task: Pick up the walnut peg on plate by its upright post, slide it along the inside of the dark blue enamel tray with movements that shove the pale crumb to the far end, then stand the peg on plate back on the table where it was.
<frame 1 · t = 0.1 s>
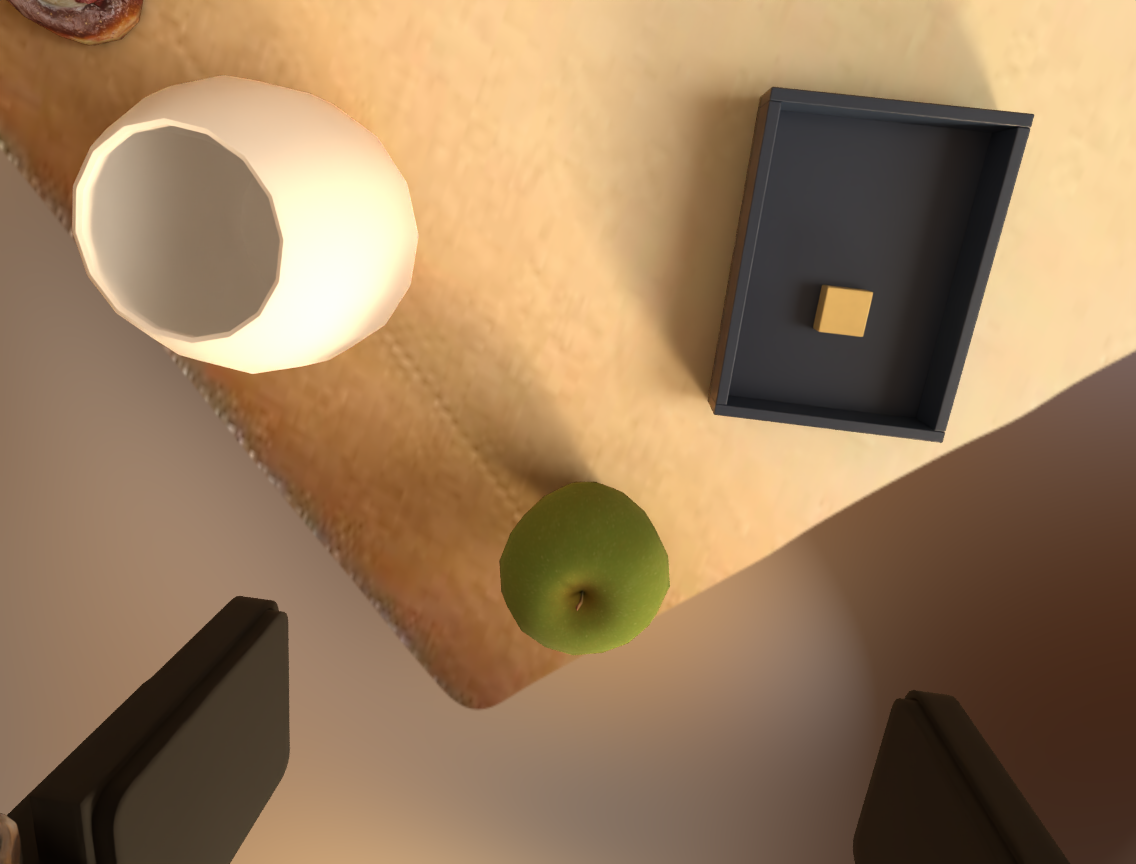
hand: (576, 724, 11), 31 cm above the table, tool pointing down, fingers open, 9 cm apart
cup: (324, 229, 40), on the table
apple: (590, 510, 44), on the table
crumb: (839, 309, 38), resting on tray
tray: (844, 271, 38), on the table
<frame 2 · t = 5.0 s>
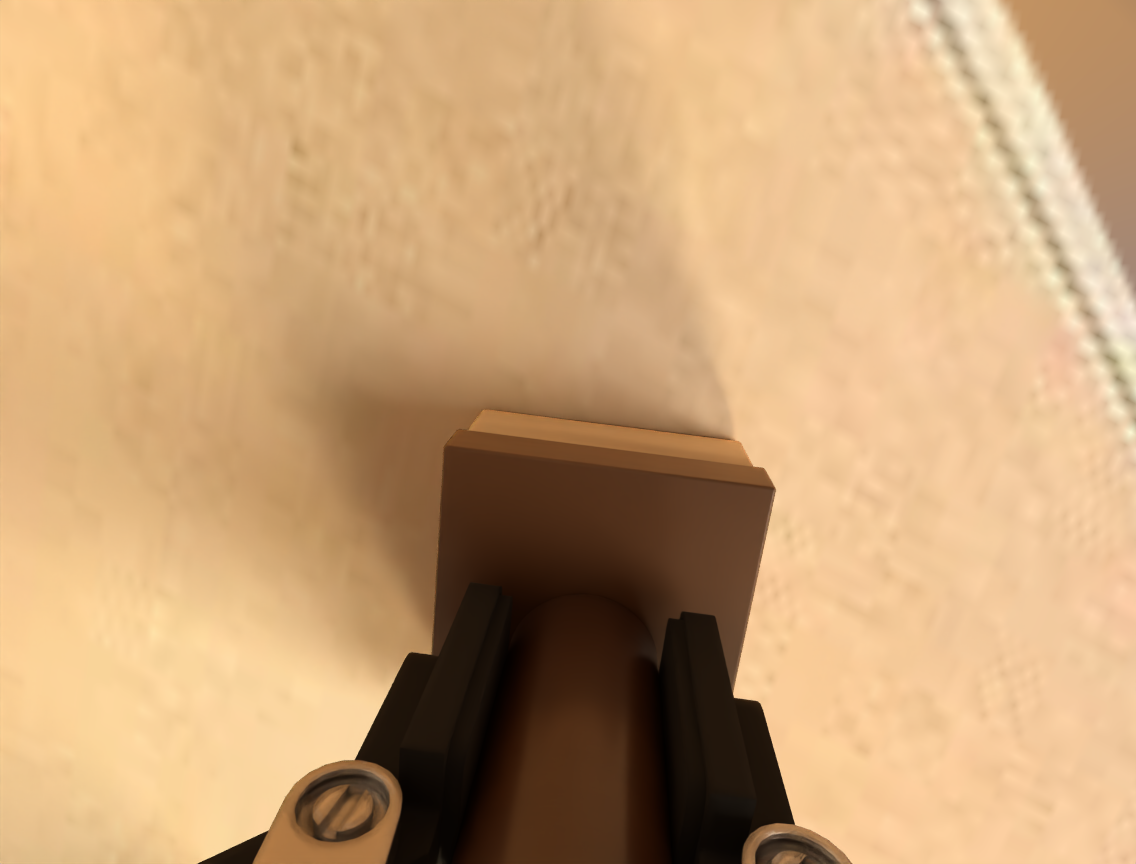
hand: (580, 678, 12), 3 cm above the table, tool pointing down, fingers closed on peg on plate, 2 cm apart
peg on plate: (590, 579, 15), on the table, touching gripper
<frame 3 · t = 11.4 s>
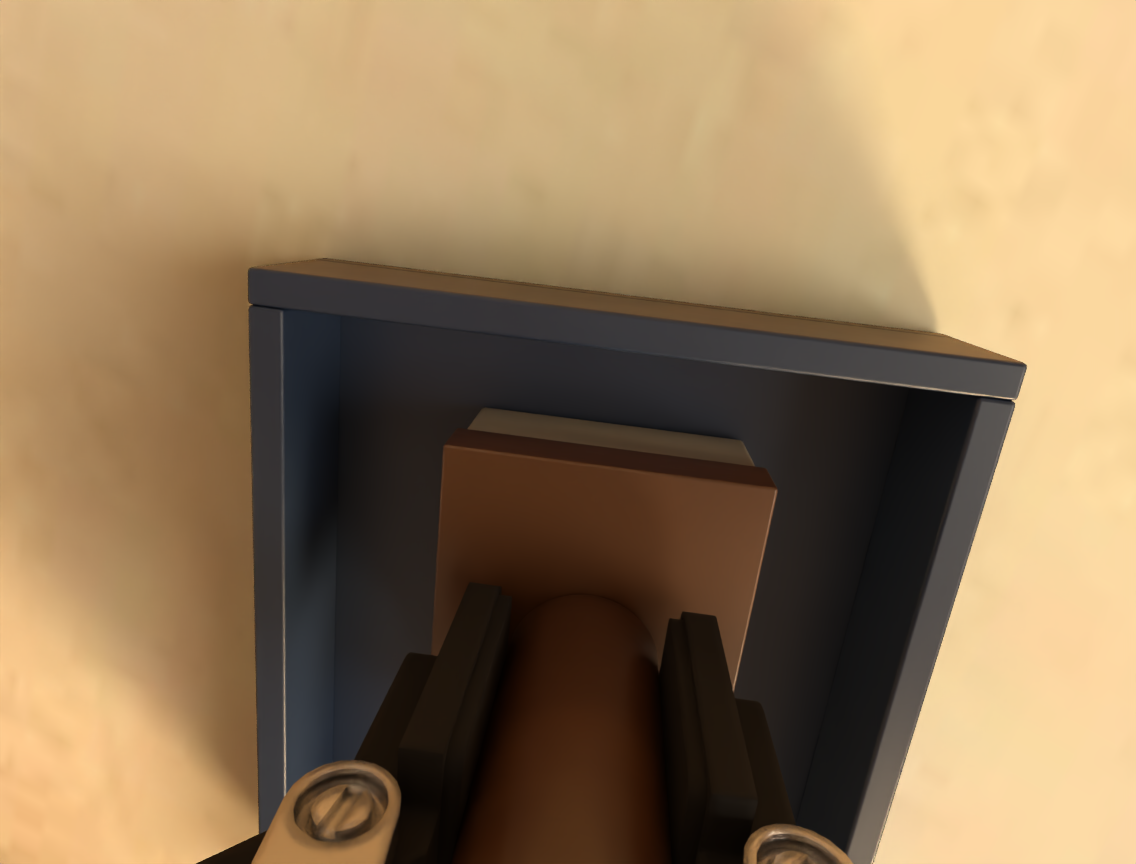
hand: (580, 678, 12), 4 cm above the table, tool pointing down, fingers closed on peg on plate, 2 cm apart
peg on plate: (590, 578, 15), point 1 cm above the table, touching gripper, tray
tray: (579, 651, 16), on the table
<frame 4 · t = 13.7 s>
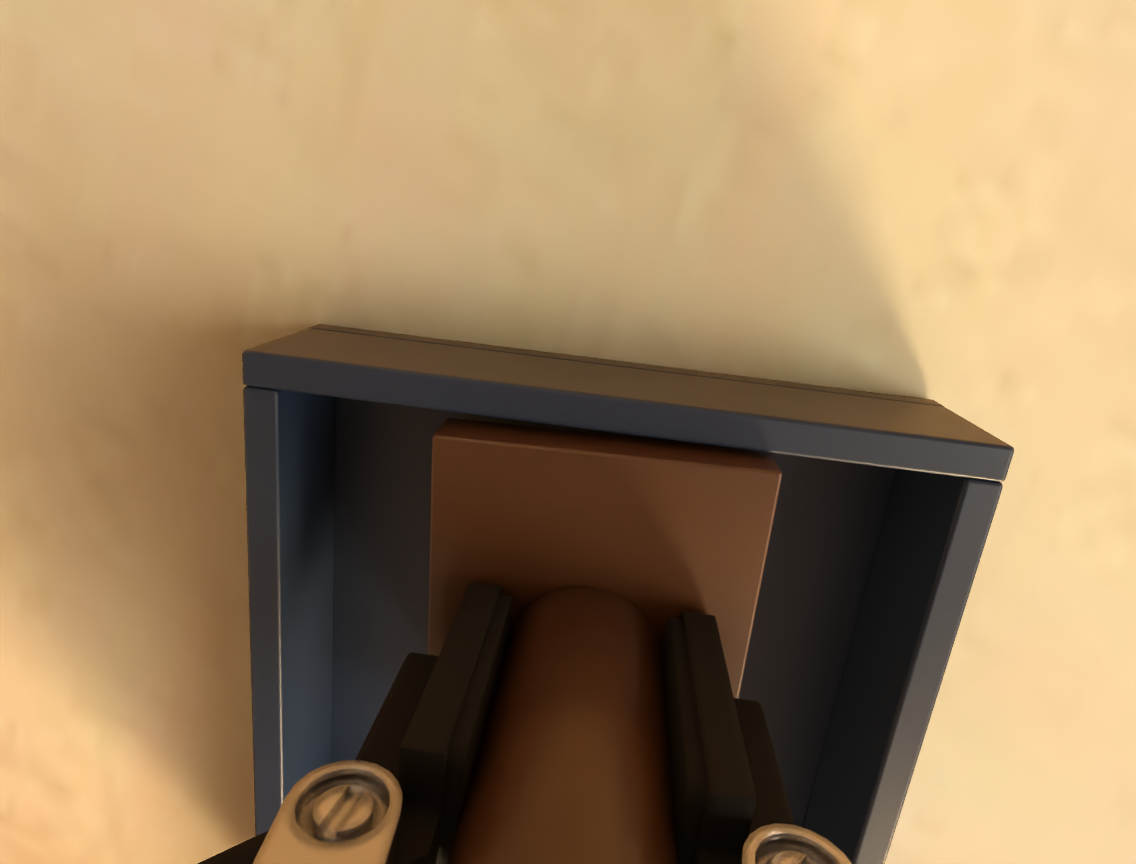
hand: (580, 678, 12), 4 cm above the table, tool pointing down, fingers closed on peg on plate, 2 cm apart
peg on plate: (591, 570, 15), point 1 cm above the table, touching gripper
tray: (574, 704, 16), on the table
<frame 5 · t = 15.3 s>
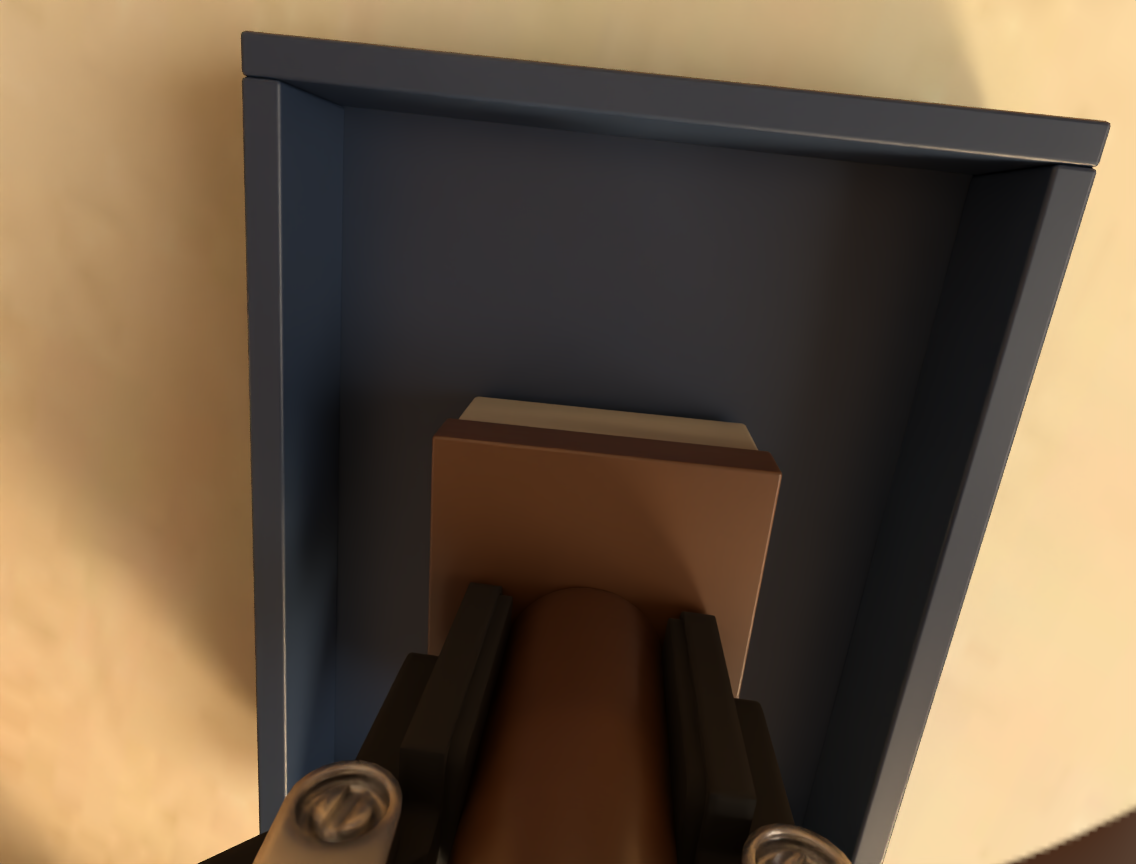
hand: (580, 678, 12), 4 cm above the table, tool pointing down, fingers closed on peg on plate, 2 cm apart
peg on plate: (591, 570, 15), point 1 cm above the table, touching gripper
tray: (600, 519, 15), on the table
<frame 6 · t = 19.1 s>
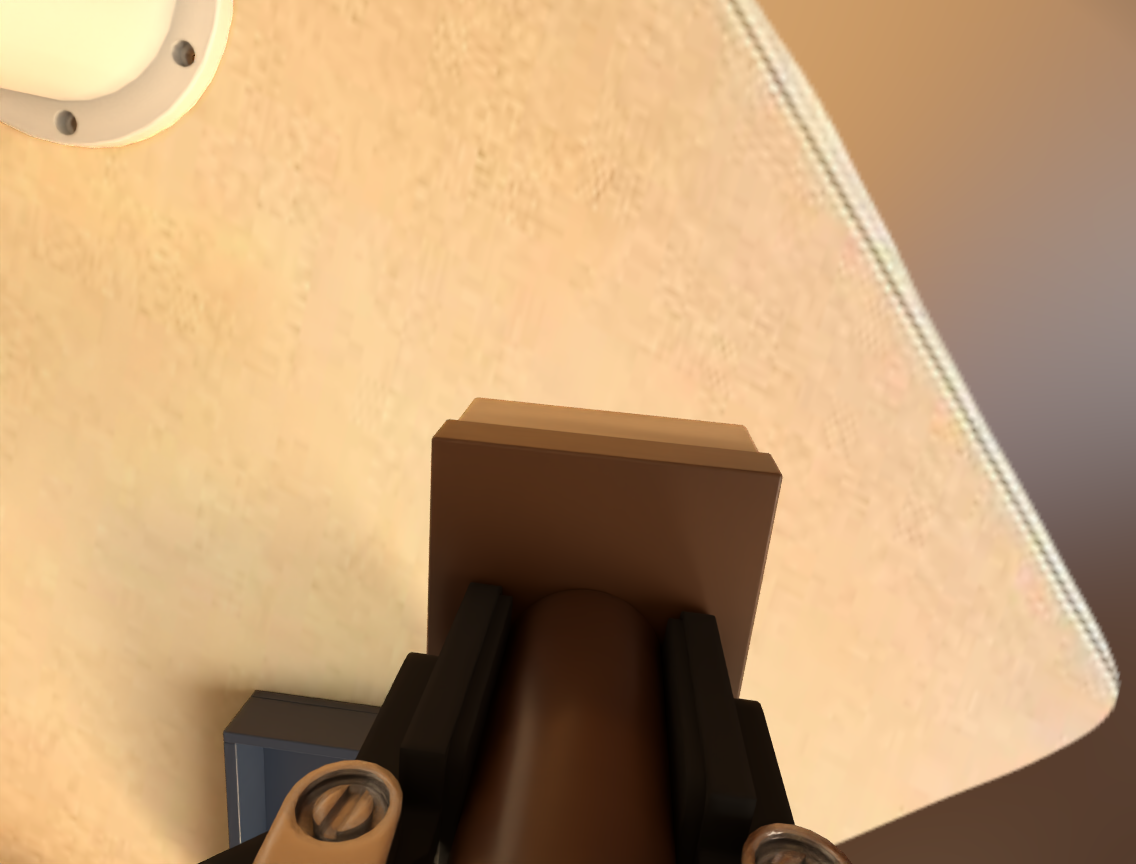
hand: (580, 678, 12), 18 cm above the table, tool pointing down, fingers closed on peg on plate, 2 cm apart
peg on plate: (591, 571, 15), point 15 cm above the table, touching gripper
tray: (372, 834, 37), on the table
when the fingers open (3 cm above the table, at t = 22.7 s): peg on plate stays where it is, on the table.
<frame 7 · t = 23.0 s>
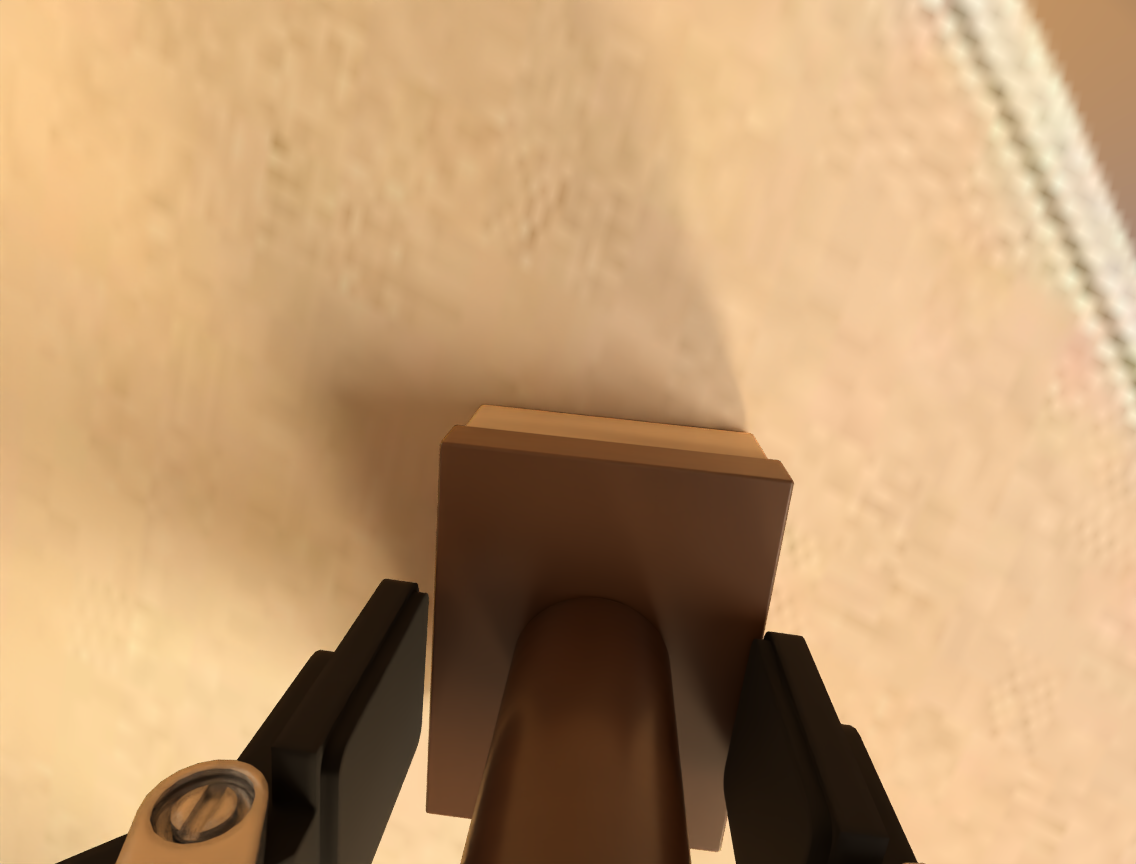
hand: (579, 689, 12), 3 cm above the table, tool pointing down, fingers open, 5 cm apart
peg on plate: (597, 581, 14), on the table
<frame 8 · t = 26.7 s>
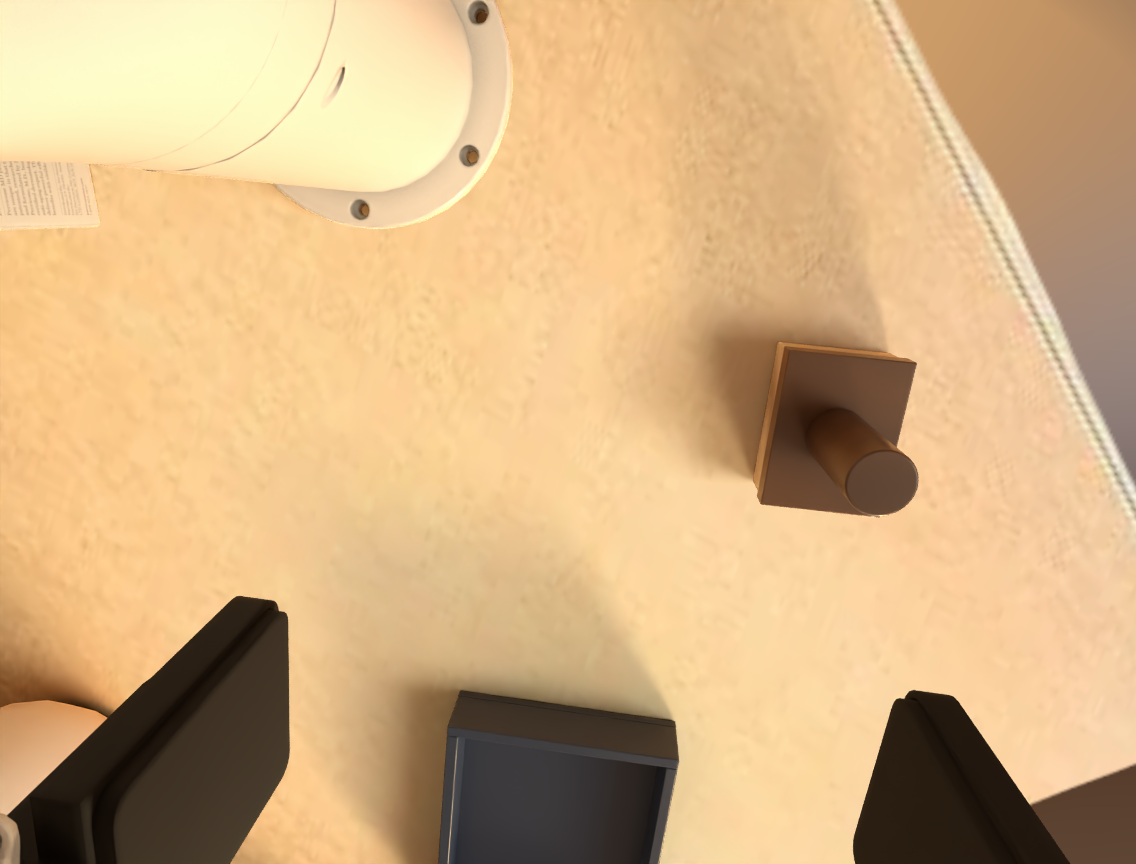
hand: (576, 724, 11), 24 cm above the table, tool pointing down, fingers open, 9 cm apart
peg on plate: (819, 419, 34), on the table
cosmetic box: (40, 182, 33), on the table
cup: (87, 759, 44), on the table
tray: (552, 818, 42), on the table
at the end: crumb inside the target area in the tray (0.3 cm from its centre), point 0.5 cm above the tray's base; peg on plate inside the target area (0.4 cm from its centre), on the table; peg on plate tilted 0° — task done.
